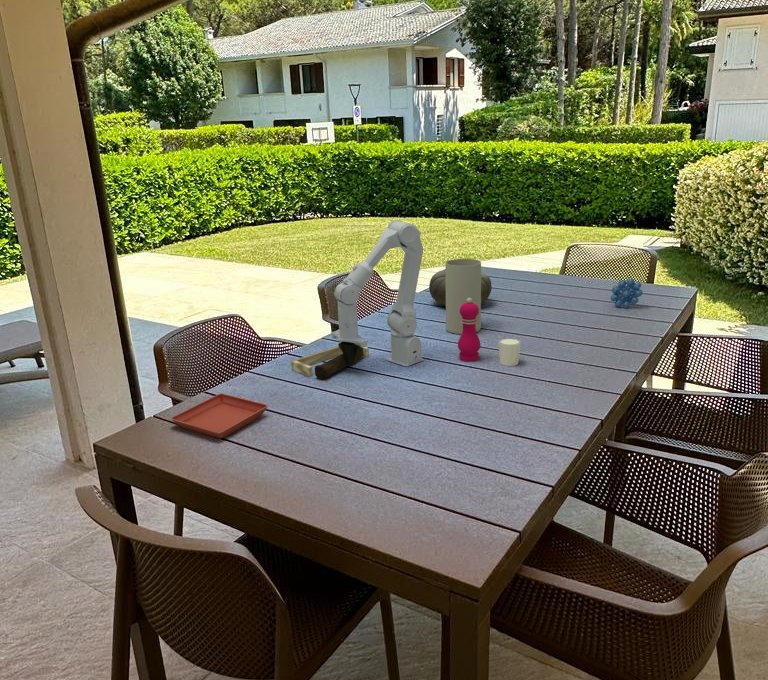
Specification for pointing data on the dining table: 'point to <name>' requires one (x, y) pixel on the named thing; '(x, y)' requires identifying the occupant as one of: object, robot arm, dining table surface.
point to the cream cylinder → (509, 351)
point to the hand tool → (335, 365)
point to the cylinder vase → (462, 291)
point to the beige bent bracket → (318, 359)
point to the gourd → (439, 287)
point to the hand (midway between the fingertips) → (350, 364)
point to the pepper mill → (469, 332)
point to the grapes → (626, 293)
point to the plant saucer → (220, 415)
